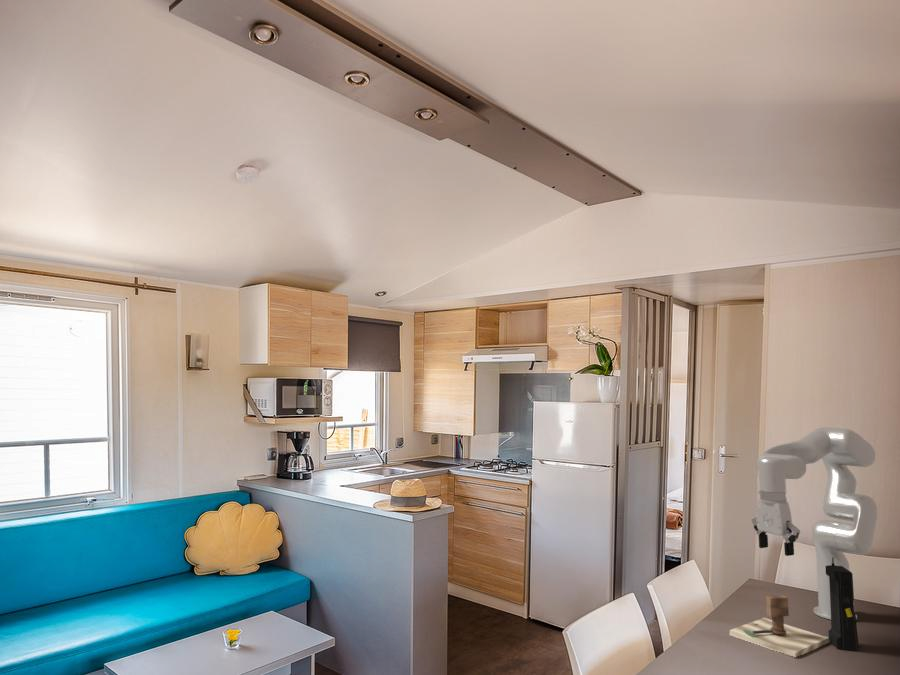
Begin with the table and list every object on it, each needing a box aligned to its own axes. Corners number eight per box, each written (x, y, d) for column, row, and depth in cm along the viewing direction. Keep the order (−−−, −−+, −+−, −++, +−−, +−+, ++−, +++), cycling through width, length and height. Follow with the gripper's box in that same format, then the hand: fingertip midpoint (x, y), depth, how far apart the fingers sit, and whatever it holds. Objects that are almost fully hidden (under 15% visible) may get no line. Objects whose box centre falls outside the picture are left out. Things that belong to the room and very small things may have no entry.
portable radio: (861, 652, 180) (857, 564, 182) (839, 651, 181) (835, 563, 183) (850, 642, 187) (846, 558, 190) (828, 640, 189) (824, 556, 191)
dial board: (764, 622, 203) (763, 617, 204) (828, 642, 187) (828, 637, 187) (729, 635, 192) (729, 629, 192) (795, 658, 176) (795, 651, 176)
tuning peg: (782, 629, 192) (780, 594, 193) (792, 635, 188) (790, 598, 189) (748, 631, 190) (747, 595, 191) (758, 637, 186) (756, 600, 187)
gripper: (742, 493, 203) (745, 546, 202) (787, 502, 187) (791, 559, 186) (760, 491, 206) (762, 543, 204) (806, 500, 190) (809, 557, 188)
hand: (776, 551), depth 195 cm, fingers open, 9 cm apart
